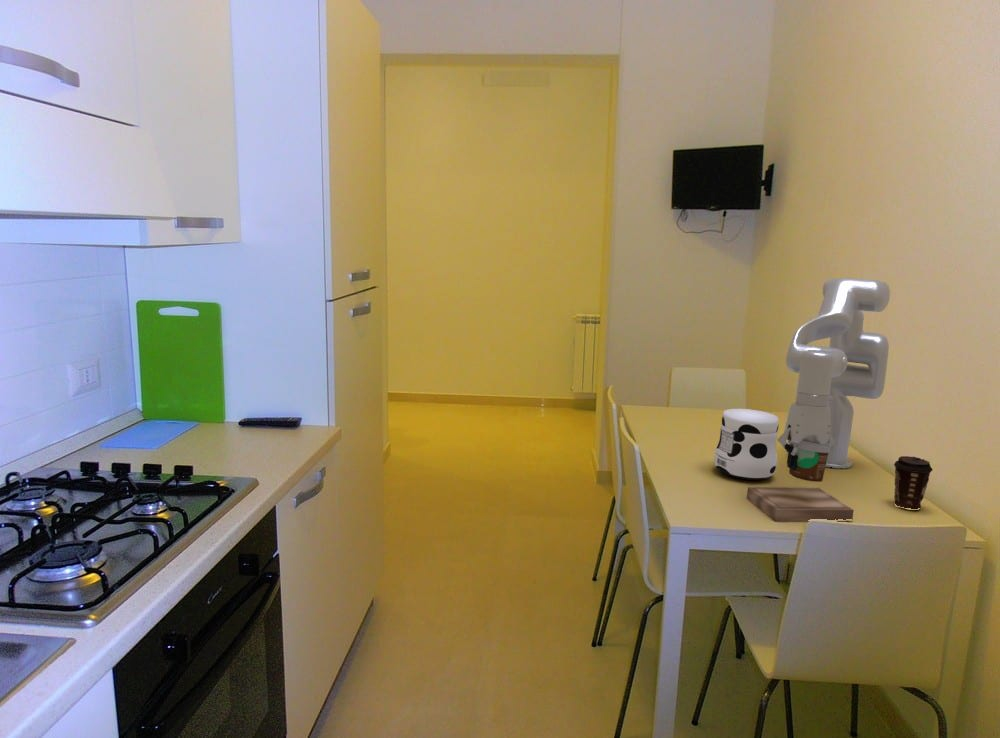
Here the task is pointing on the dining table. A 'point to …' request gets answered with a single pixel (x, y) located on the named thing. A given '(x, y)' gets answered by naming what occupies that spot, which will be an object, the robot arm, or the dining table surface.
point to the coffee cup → (911, 481)
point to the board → (798, 504)
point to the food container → (810, 461)
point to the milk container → (747, 444)
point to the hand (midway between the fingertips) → (802, 468)
